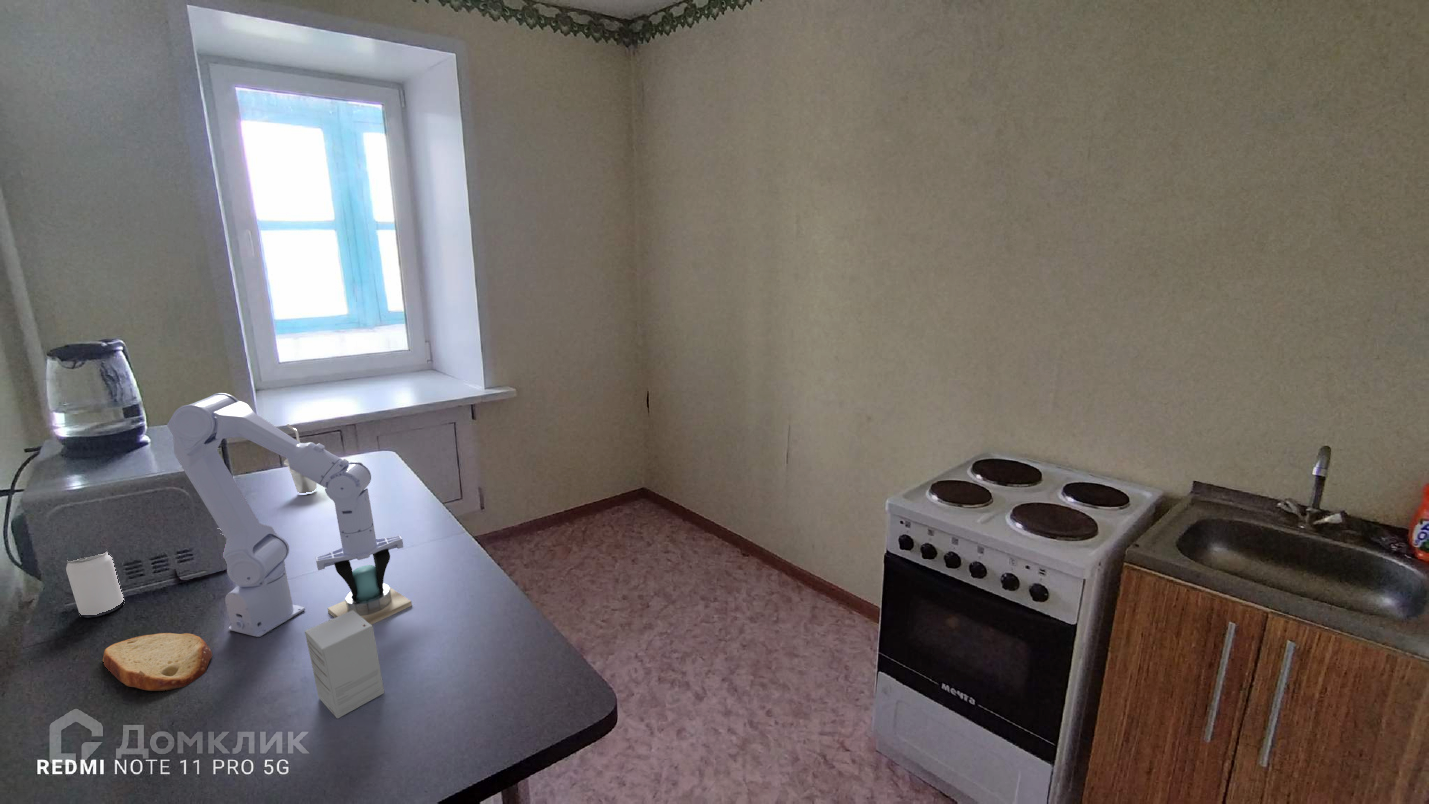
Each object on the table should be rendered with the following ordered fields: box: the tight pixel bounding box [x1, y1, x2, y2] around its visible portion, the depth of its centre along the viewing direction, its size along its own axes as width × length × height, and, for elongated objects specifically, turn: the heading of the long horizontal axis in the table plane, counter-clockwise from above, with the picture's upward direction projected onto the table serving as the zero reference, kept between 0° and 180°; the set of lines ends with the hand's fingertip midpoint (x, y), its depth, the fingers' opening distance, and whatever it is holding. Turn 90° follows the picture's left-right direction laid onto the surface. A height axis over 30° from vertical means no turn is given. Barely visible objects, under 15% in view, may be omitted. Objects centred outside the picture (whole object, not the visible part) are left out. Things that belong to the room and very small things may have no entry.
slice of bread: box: [102, 632, 213, 692], centre depth 106 cm, size 18×18×4 cm
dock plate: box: [327, 586, 413, 626], centre depth 122 cm, size 11×11×1 cm
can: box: [65, 550, 125, 615], centre depth 121 cm, size 6×6×12 cm
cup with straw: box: [283, 423, 318, 493], centre depth 177 cm, size 8×9×20 cm
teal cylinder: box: [352, 564, 380, 602], centre depth 121 cm, size 4×4×6 cm
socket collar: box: [344, 583, 392, 616], centre depth 122 cm, size 8×8×2 cm
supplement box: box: [304, 610, 385, 719], centre depth 97 cm, size 7×7×13 cm
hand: (367, 590), depth 121 cm, fingers closed on teal cylinder, 4 cm apart
